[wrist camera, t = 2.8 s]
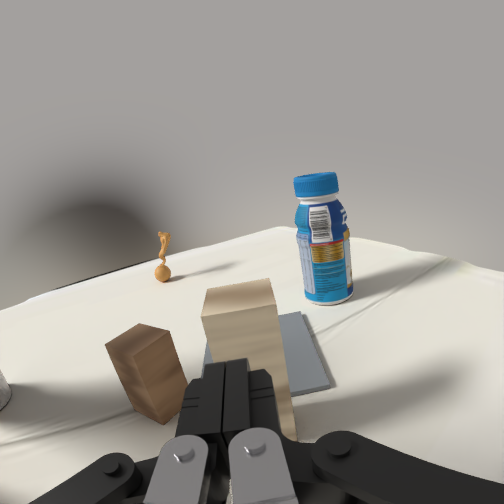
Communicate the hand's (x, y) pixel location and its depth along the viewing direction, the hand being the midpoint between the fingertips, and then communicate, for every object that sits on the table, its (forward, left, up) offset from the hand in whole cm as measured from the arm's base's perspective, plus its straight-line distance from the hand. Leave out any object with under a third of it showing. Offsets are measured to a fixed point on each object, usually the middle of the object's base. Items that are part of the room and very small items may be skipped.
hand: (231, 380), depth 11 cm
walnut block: (-21, +1, -16) cm, 26 cm away
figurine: (-63, +21, -16) cm, 68 cm away
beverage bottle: (-24, +33, -16) cm, 44 cm away
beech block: (-10, +7, -16) cm, 20 cm away
